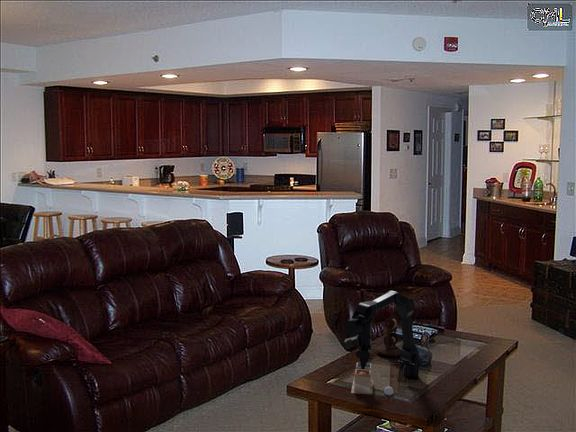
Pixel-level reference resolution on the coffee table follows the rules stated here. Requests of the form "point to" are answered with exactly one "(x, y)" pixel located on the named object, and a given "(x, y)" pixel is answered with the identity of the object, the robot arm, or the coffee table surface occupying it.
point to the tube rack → (362, 380)
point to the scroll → (390, 338)
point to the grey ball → (388, 390)
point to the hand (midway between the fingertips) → (363, 367)
